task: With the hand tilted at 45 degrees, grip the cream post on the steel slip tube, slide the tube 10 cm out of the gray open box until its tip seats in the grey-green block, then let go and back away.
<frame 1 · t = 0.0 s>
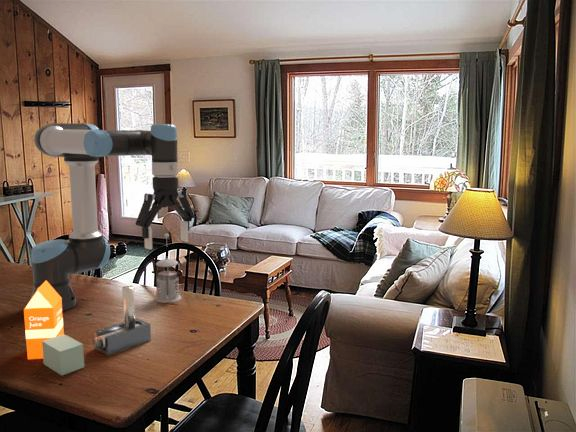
hand: (167, 244, 156), 28 cm above the table, tool pointing down, fingers open, 13 cm apart
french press: (168, 299, 190), on the table
gray open box: (140, 338, 155), on the table
grey-green block: (63, 354, 136), on the table
orange juice: (46, 352, 145), on the table
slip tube: (117, 316, 147), point 9 cm above the table, slide at 0.0 cm
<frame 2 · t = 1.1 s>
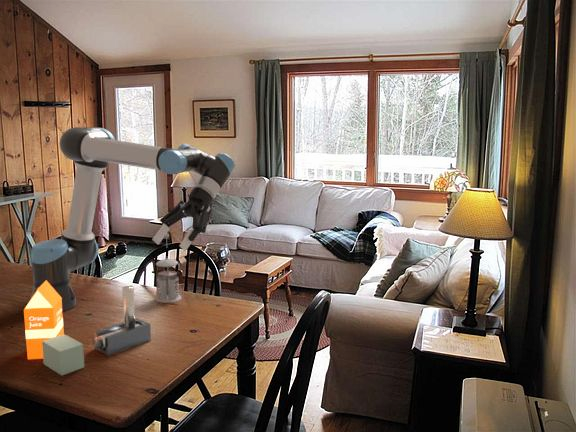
hand: (168, 245, 158), 27 cm above the table, tool tilted 45°, fingers open, 13 cm apart
nothing on the table moved.
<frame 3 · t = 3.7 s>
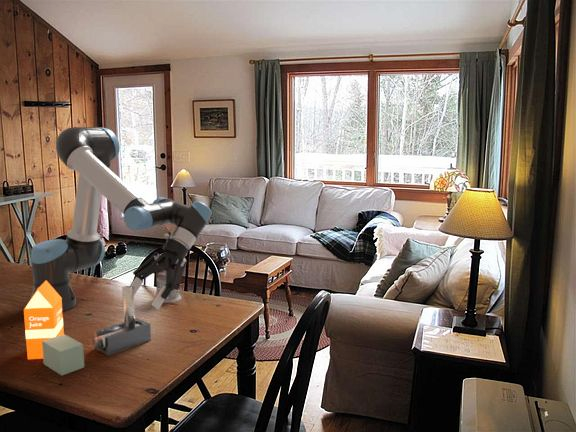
hand: (140, 302, 152), 12 cm above the table, tool tilted 45°, fingers open, 13 cm apart
nothing on the table moved.
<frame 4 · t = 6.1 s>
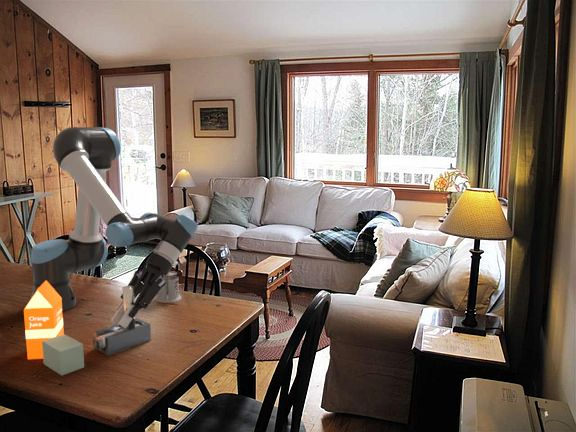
hand: (118, 324, 148), 7 cm above the table, tool tilted 45°, fingers closed on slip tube, 3 cm apart
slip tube: (117, 316, 147), point 9 cm above the table, slide at 0.0 cm, touching gripper
everything else where it was.
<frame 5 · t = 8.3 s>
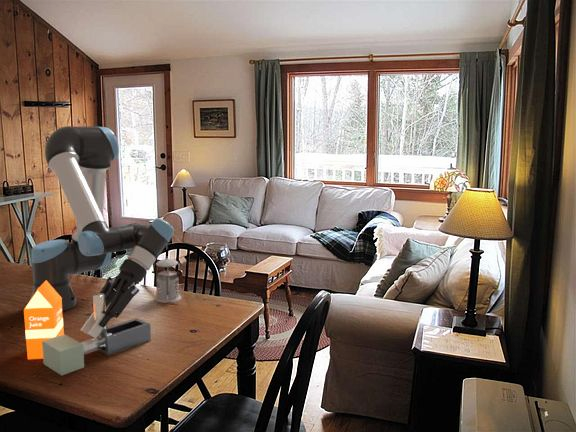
hand: (88, 334, 141), 7 cm above the table, tool tilted 45°, fingers closed on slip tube, 3 cm apart
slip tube: (87, 325, 140), point 9 cm above the table, slide at 9.4 cm, touching gripper
everything else where it was.
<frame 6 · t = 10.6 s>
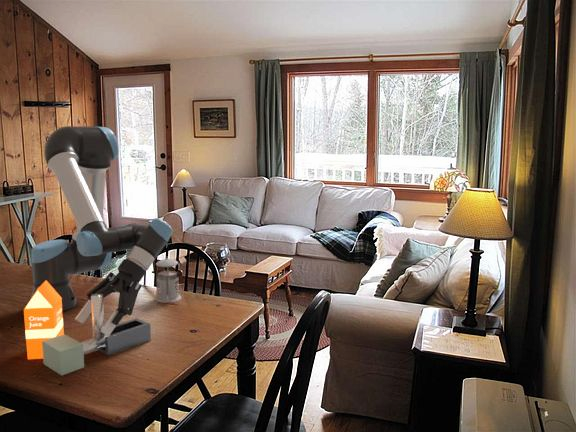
hand: (91, 327, 141), 8 cm above the table, tool tilted 45°, fingers open, 13 cm apart
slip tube: (85, 326, 140), point 9 cm above the table, slide at 10.0 cm
everything else where it was.
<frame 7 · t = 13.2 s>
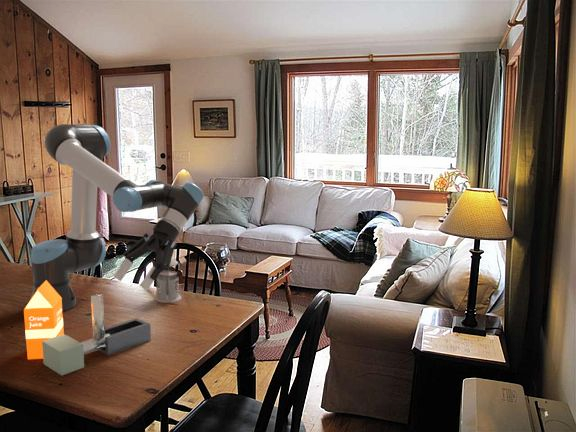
hand: (129, 283, 149), 18 cm above the table, tool tilted 45°, fingers open, 13 cm apart
nothing on the table moved.
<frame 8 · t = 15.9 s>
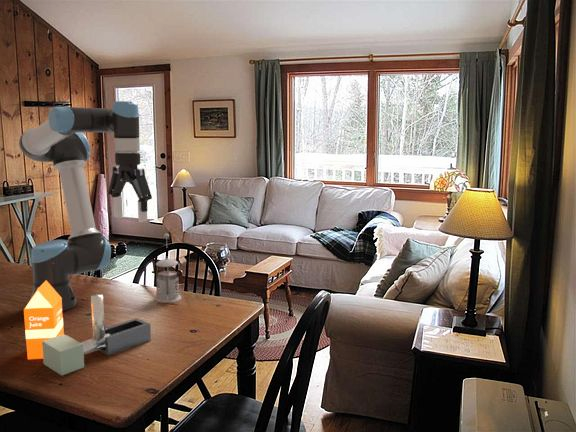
hand: (130, 219, 161), 35 cm above the table, tool pointing down, fingers open, 13 cm apart
nothing on the table moved.
at the end: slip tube slide at 10.0 cm; the gripper is holding nothing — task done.
